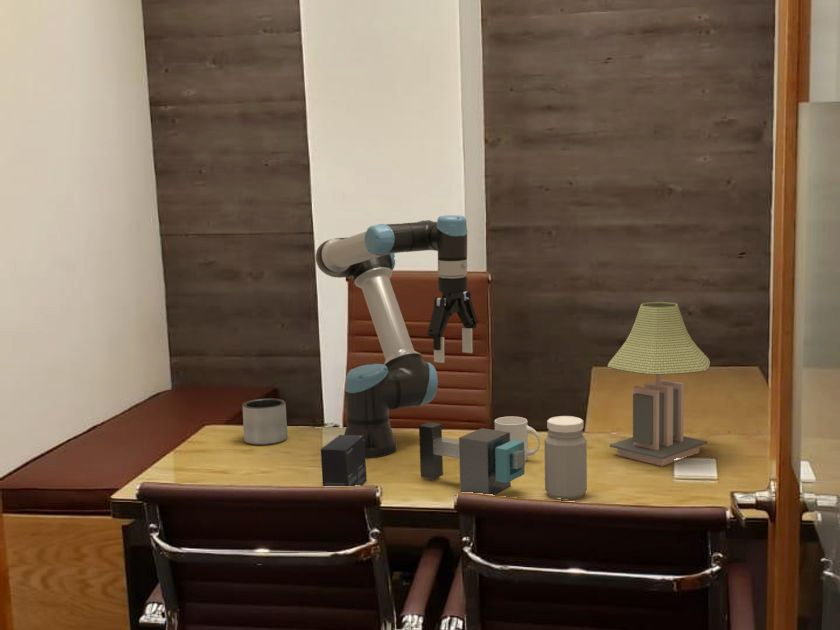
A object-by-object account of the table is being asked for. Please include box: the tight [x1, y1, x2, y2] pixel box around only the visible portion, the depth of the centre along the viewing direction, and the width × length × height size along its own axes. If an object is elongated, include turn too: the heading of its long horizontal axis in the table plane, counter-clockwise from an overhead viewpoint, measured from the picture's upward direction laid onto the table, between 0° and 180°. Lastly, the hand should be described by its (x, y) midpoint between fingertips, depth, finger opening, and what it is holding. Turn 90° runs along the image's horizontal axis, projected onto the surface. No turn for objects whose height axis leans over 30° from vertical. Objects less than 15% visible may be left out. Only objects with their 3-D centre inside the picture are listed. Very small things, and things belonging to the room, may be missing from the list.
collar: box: [495, 440, 525, 483], centre depth 242 cm, size 3×8×8 cm, turn 144°
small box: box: [320, 434, 368, 487], centre depth 251 cm, size 13×7×12 cm, turn 163°
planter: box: [242, 397, 288, 446], centre depth 297 cm, size 12×13×11 cm
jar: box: [543, 415, 588, 500], centre depth 241 cm, size 10×10×18 cm
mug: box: [494, 416, 541, 462], centre depth 270 cm, size 9×12×11 cm
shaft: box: [418, 421, 526, 480], centre depth 248 cm, size 28×4×13 cm, turn 54°
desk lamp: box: [607, 301, 711, 467], centre depth 270 cm, size 26×28×40 cm
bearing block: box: [458, 427, 512, 496], centre depth 246 cm, size 8×10×14 cm
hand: (453, 357), depth 266 cm, fingers open, 13 cm apart
